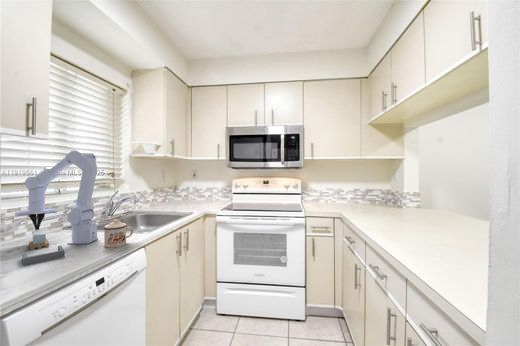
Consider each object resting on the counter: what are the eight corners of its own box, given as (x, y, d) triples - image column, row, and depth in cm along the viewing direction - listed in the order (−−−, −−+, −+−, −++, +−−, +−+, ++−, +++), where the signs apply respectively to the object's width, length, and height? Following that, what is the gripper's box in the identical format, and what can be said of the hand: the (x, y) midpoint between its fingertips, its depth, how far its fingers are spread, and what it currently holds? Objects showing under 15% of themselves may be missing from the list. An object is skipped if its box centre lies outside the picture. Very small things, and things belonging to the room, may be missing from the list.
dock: (22, 258, 89) (22, 252, 89) (61, 251, 98) (61, 245, 98) (23, 265, 83) (23, 258, 83) (64, 256, 92) (64, 250, 92)
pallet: (29, 245, 105) (29, 241, 105) (46, 242, 110) (46, 238, 110) (30, 250, 99) (30, 246, 99) (49, 247, 104) (49, 242, 104)
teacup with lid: (105, 249, 100) (105, 223, 100) (102, 244, 107) (101, 219, 107) (135, 243, 109) (135, 219, 109) (130, 239, 115) (130, 216, 115)
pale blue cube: (32, 242, 104) (32, 233, 103) (44, 240, 106) (44, 232, 106) (33, 244, 101) (33, 235, 101) (45, 242, 104) (45, 233, 104)
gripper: (55, 199, 119) (55, 225, 119) (14, 202, 108) (14, 230, 108) (57, 200, 114) (57, 227, 114) (15, 203, 103) (15, 233, 104)
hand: (36, 229), depth 111 cm, fingers closed
